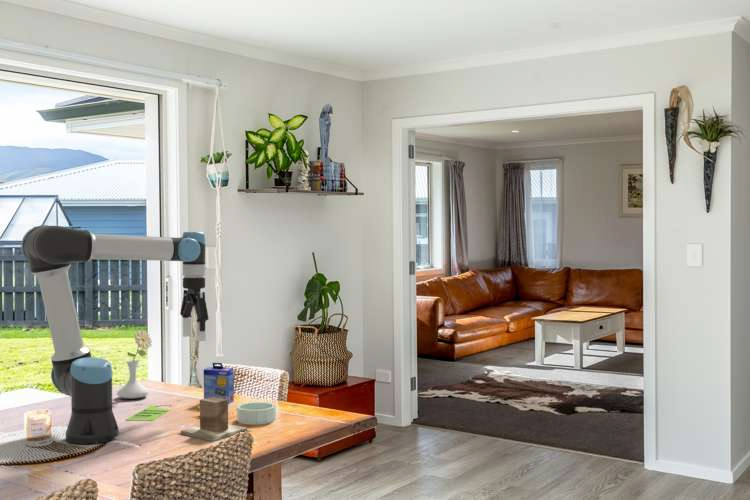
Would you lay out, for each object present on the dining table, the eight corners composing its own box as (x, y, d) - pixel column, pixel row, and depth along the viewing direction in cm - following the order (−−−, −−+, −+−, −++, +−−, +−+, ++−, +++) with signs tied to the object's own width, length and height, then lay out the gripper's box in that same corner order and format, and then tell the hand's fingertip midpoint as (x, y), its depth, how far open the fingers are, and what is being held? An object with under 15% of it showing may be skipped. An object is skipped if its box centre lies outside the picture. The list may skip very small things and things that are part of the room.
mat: (212, 444, 239) (212, 442, 239) (176, 436, 249) (176, 433, 249) (251, 433, 252) (251, 430, 252) (216, 425, 262) (216, 423, 262)
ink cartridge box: (202, 403, 295) (202, 362, 295) (208, 399, 301) (208, 360, 300) (229, 404, 294) (228, 363, 293) (234, 400, 299) (234, 361, 299)
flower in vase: (125, 402, 297) (124, 333, 296) (111, 397, 305) (110, 330, 304) (158, 397, 306) (157, 330, 305) (144, 392, 314) (143, 327, 313)
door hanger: (152, 422, 269) (180, 405, 293) (152, 420, 269) (180, 404, 293) (125, 421, 270) (155, 404, 295) (125, 419, 270) (155, 403, 295)
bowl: (256, 428, 258) (256, 412, 258) (229, 423, 265) (229, 407, 265) (282, 421, 268) (282, 405, 267) (256, 416, 275) (256, 400, 275)
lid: (212, 440, 241) (212, 406, 240) (180, 433, 249) (180, 400, 249) (247, 431, 252) (246, 398, 252) (215, 424, 260) (215, 393, 260)
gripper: (218, 278, 273) (218, 342, 274) (191, 274, 294) (191, 333, 295) (196, 279, 269) (196, 343, 270) (171, 275, 290) (171, 335, 291)
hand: (193, 338), depth 282 cm, fingers open, 13 cm apart
